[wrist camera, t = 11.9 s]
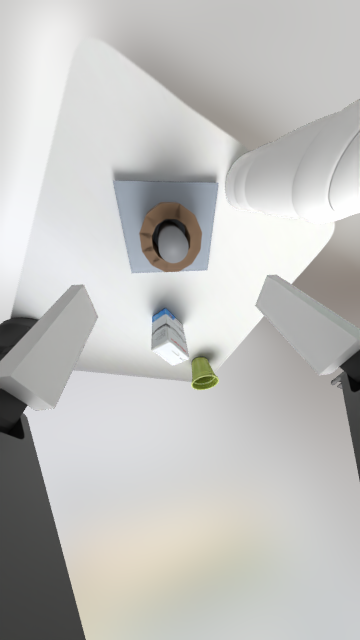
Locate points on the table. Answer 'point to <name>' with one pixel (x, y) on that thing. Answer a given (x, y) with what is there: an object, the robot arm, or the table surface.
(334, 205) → the water bottle
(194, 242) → the collar
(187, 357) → the ink box
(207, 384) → the plant pot
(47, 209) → the table surface
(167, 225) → the stand
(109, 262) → the table surface
